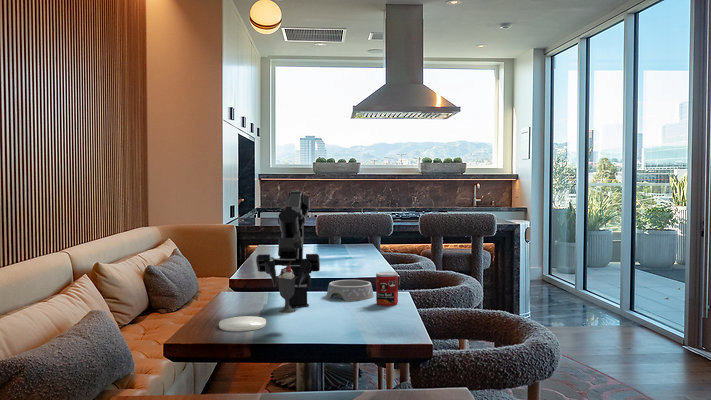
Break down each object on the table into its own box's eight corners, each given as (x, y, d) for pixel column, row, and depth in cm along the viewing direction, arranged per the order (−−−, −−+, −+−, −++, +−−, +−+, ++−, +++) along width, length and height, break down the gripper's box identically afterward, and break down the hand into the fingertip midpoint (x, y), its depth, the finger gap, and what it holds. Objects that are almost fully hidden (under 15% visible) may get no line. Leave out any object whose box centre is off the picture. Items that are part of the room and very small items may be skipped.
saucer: (257, 318, 184) (257, 314, 184) (272, 327, 172) (272, 323, 171) (214, 323, 177) (214, 319, 177) (226, 333, 165) (225, 329, 165)
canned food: (373, 305, 202) (372, 274, 201) (380, 300, 209) (380, 270, 209) (393, 307, 199) (393, 275, 198) (400, 302, 206) (400, 272, 206)
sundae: (294, 314, 165) (294, 262, 164) (272, 313, 166) (271, 261, 165) (301, 308, 171) (301, 258, 170) (280, 308, 172) (279, 258, 172)
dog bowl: (344, 290, 231) (344, 277, 231) (382, 295, 220) (382, 281, 220) (317, 297, 217) (317, 283, 217) (356, 303, 206) (356, 288, 206)
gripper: (256, 227, 171) (250, 270, 161) (318, 227, 171) (317, 269, 161) (261, 250, 180) (255, 292, 169) (320, 249, 180) (319, 291, 169)
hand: (286, 286), depth 167 cm, fingers closed on sundae, 6 cm apart
